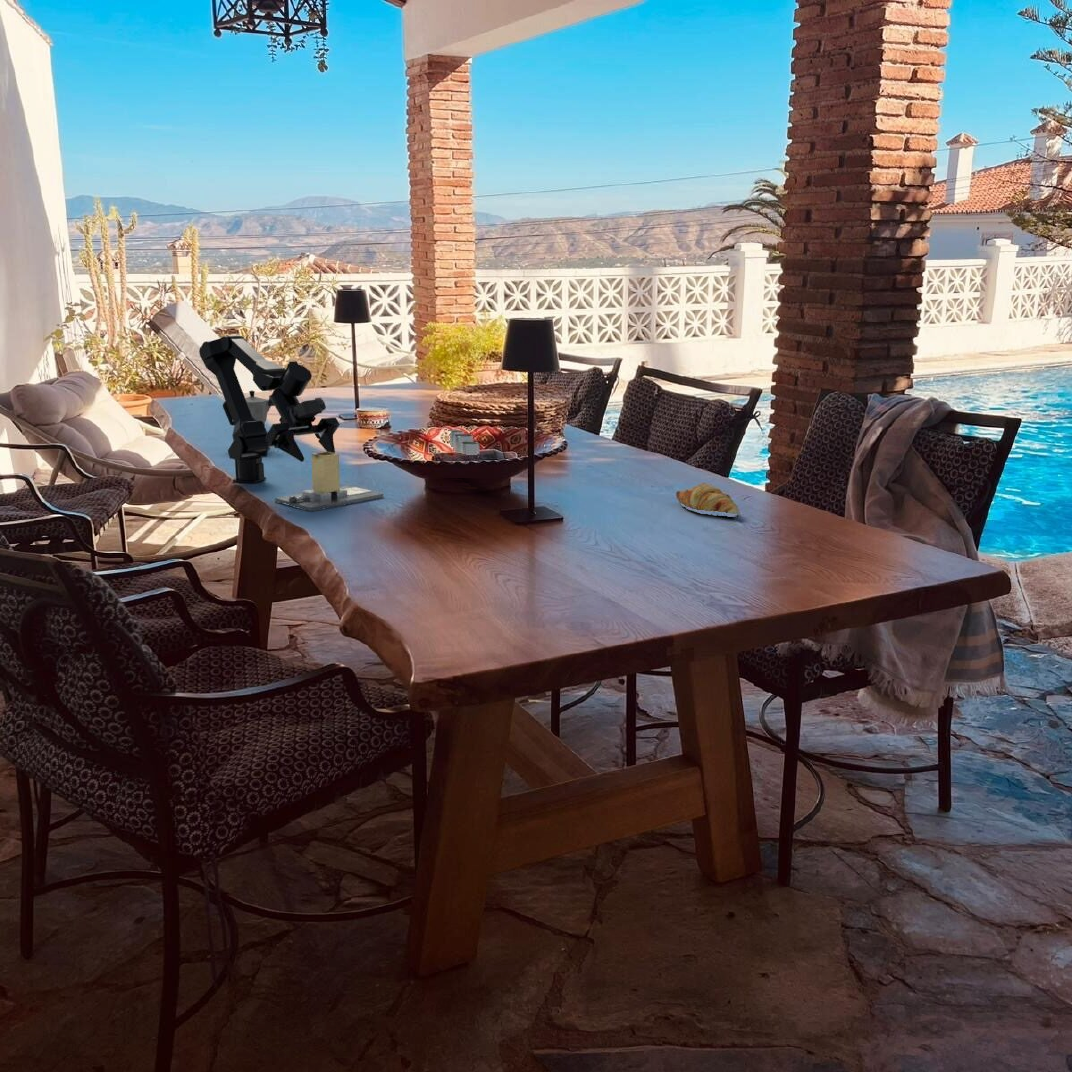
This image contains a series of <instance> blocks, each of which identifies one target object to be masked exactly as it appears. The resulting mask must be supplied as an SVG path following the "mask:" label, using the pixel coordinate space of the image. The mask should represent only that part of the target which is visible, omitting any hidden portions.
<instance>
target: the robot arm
mask: <svg viewBox="0 0 1072 1072" xmlns="http://www.w3.org/2000/svg"><path fill="white" fill-rule="evenodd" d="M198 350H199V357H200V359H201V361H202V362H203V364H204V367H205V368H206V369H208V371H210V372H211V373H212V374H213V375H214V376H215V377H216V380H217V382H218V385H219V387H220V390H221V393H222V396H223V398H224V400H225V401H226V403H227V406H228V409H229V411H230V414H231V416H232V419H233V422H234V425H233V426H234V427H233V431H232V440H233V441H232V443H231V444H230V446H229V448H228V450H227V453H228V456H229V459H232V460H234V467H235V478H233V479H232V482H236V483H248V484H256V483H259V482H262V481H264V480H267V477H265V465H264V462H263V457H264V458H266V457H268V453H269V452H268V451H269V449H268V447H269V446H270V447H274V448H275V449H279V450H281V451H282V452H285V453H286V454H288V455H290V456H292V457H293V458H295V459H296V460H297V461H299V462H303V463H304V460H305V457H304V455H303V452H302V451H301V449H300V447H299V446H298V443H297V442H296V440H295V436H297V437H300V436H307V435H308V436H309V435H314V436H315V437H316V438H317V439H318V443H319V445H321V446H322V448H323V449H324V450H325V452H332V453H336V450H335V449H336V448H335V443H334V434H335V433H336V431H337V430H338V428H339V427H340V425H341V424H340V422H339V420H338V419H337V417H336V416H335V417H334V416H330V417H323V418H322V417H321V419H320V420H319V422H318V423H317V424H313V422H315V420H316V419H317V418H316V416H317V415H318V414H322V413H323V411H325V410H326V407H327V405H326V403H325V401H324V400H323V398H322V397H315V398H314V399H310V400H304V401H301V402H300V400H299V399H298V397H300V396H301V395H303V393H304V391H305V389H306V388H307V387H308V384H309V383H310V381H311V379H312V372H311V371H310V370H309V369H308V368H307V367H306V366H304V365H301V364H300V363H298V361H297V360H296V361H295V360H294V361H289V362H288V363H287V365H286V368H285V367H283V366H282V365H280V364H278V363H276V362H273V361H270V360H267V359H266V358H265V357H263V355H261V354H260V352H258V351H257V350H256V349H255V348H254V347H253V346H252V345H250V344H249V343H248V341H246V339H245V337H244V336H243V335H240V334H226V335H224V336H221V337H220V338H217V339H214V340H210V341H203V343H201V346H200V347H199V349H198ZM237 361H239V362H240V364H242V366H244V367H245V369H247V370H248V371H249V372H250V373H251V374H252V381H253V382H254V384H255V385H256V386H257V388H258V389H259V390H260V391H262V392H268V391H269V392H270V391H271V392H272V393H271V394H269V396H268V406H271V407H275V409H276V411H277V413H278V414H279V416H280V417H279V423H278V422H277V423H272V424H271V426H270V428H269V430H267V428H266V425H265V426H264V423H263V422H262V421H256V420H255V419H254V418H253V417H252V414H251V412H250V409H249V407H248V404H247V402H246V399H245V398H246V397H245V394H244V392H243V388H242V386H241V384H240V381H239V378H238V376H237V374H236V370H235V366H236V362H237ZM225 401H224V402H225ZM265 428H266V429H265ZM266 430H267V431H266Z"/></svg>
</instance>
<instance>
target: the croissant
mask: <svg viewBox="0 0 1072 1072" xmlns="http://www.w3.org/2000/svg"><path fill="white" fill-rule="evenodd" d="M675 494H676V495H675V496H676V500H678V502H679V504H680V503H682V504H684V505H685V506H687V507H690V508H692V509H697V510H705V511H718V512H726V513H732V514H738V513H739V514H740V509H739V508H738V505H737V504H736V503H735V502H734V501H733V499H732V498H731V496H730V495H729V494H726V493H723V492H722V490H721V489H720V488H718V487H716V486H713V485H712V484H708V483H704V482H703V483H700V484H698V485H697V486H693V487H690V489H683V490H681V491H680V490H679V491H676V493H675Z"/></svg>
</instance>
